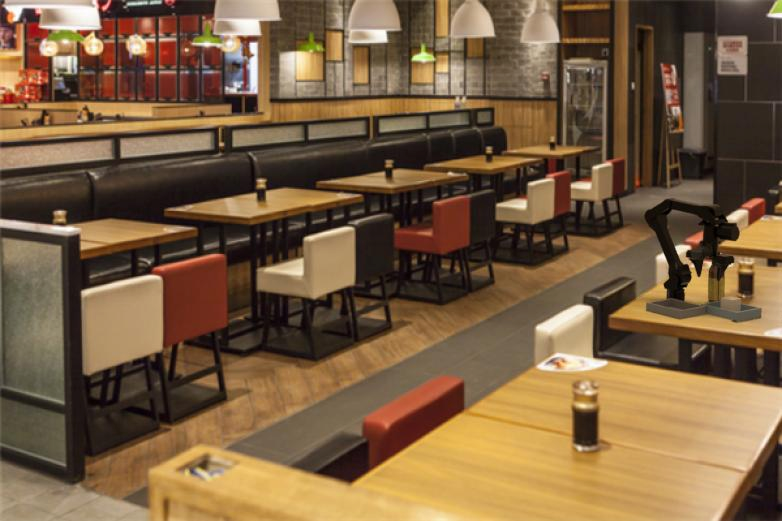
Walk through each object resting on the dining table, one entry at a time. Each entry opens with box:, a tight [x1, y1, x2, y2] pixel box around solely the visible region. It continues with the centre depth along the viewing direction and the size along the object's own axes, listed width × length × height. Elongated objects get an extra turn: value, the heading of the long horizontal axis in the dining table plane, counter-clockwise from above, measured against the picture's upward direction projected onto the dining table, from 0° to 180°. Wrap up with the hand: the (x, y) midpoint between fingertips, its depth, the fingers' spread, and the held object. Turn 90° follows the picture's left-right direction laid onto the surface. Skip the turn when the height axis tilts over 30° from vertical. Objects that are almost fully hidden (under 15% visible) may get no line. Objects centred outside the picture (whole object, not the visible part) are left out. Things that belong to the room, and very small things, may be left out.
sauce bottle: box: [707, 252, 726, 303], centre depth 393 cm, size 7×6×20 cm
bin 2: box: [700, 301, 763, 323], centre depth 374 cm, size 17×14×4 cm
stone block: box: [721, 295, 742, 312], centre depth 374 cm, size 5×5×6 cm
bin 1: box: [645, 298, 706, 320], centre depth 377 cm, size 17×14×4 cm
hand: (708, 278), depth 382 cm, fingers open, 9 cm apart
